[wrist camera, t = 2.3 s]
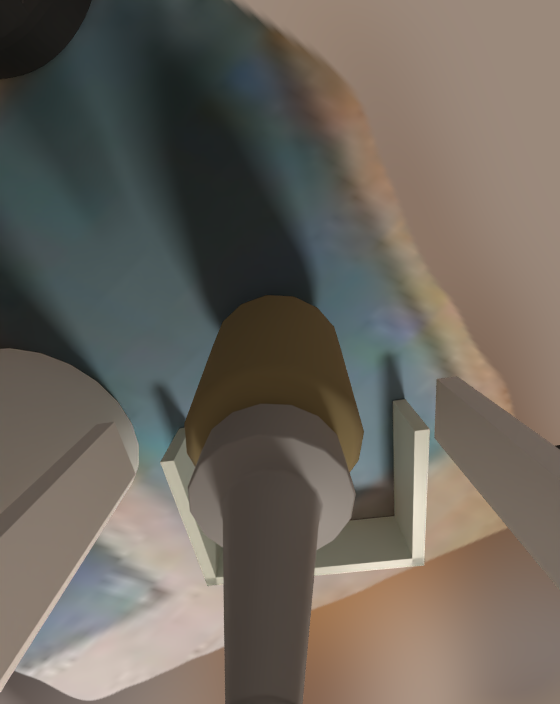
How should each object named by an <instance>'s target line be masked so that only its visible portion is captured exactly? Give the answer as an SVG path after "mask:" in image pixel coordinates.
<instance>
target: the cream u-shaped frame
mask: <svg viewBox="0 0 560 704" xmlns="http://www.w3.org/2000/svg"><path fill="white" fill-rule="evenodd" d="M429 434H430V429H429V428H428V427H427V425H426V424H425V423H424V422H423V420H422V419H421V418H420V417H419V415H418V414H417V413H416V412H415V411H414V409H413V408H412V407H411V406H410V404H409V403H408V402H407V401H406V399H403V400H396V401H393V448H394V516H389V517H379V518H370V519H360V520H351V521H348V523H347V524H346V525H345V527H344V528H343V529H342V530H341V532H340V533H339V534H338V536H337V537H336V538H335V539H334V540H333V541H331V542H330V543H328V544H326V545H325V546H323V547H321V548H320V549H318V550H316V561H315V572H314V576H317V575H327V574H338V573H348V572H359V571H369V570H380V569H390V568H401V567H411V566H422V565H424V555H425V530H426V506H427V482H428V458H429ZM160 463H161V465H162V468H163V470H164V473H165V476H166V478H167V481H168V484H169V486H170V489H171V492H172V494H173V497H174V499H175V502H176V505H177V507H178V510H179V513H180V515H181V518H182V520H183V523H184V526H185V528H186V531H187V534H188V536H189V539H190V542H191V544H192V547H193V549H194V552H195V555H196V557H197V560H198V563H199V565H200V568H201V570H202V573H203V576H204V578H205V581H206V584H207V586H212V585H222V584H224V580H223V547H221V546H220V545H218V544H217V543H216V542H214V541H213V540H211V539H210V538H209V537H207V536H206V535H205V534H204V533H203V531H202V530H201V528H200V527H199V525H198V523H197V522H196V520H195V519H194V517H193V516H192V514H191V512H190V507H189V496H188V485H189V482H190V480H191V477H192V474H193V472H194V469H195V466H194V464H193V462H192V461H191V459H190V457H189V456H188V454H187V449H186V437H185V428H179V430H178V432H177V433H176V435H175V437H174V439H173V440H172V442H171V444H170V446H169V448H168V449H167V451H166V453H165V455H164V457H163V458H162V460H161V462H160Z"/></svg>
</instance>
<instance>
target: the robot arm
mask: <svg viewBox="0 0 560 704" xmlns="http://www.w3.org/2000/svg"><path fill="white" fill-rule="evenodd" d="M90 3H91V0H0V79H2V78H11V77H16V76H20V75H24V74H26V73H29V72H32V71H34V70H36V69H38V68H40V67H42V66H43V65H45V64H46V63H48V62H49V61H51V60H52V59H53V58H54V57H56V56H57V55H58V54H59V53H60V52H61V51H62V50H63V49H64V48H65V47H66V45H67V44H68V43H69V42H70V41H71V39H72V38H73V36H74V35H75V33H76V32H77V30H78V29H79V27H80V25H81V23H82V22H83V20H84V18H85V15H86V13H87V11H88V9H89V6H90ZM434 438H435V439H436V440H437V441H438V443H439V444H440V445H441V446H442V448H443V449H444V450H445V451H446V452H447V454H448V455H449V456H450V457H451V459H452V460H453V461H454V462H455V463H456V465H457V466H458V467H459V468H460V470H461V471H462V472H463V473H464V474H465V476H466V477H467V478H468V479H469V480H470V482H471V483H472V484H473V485H474V487H475V488H476V489H477V490H478V491H479V493H480V494H481V495H482V496H483V498H484V499H485V500H486V501H487V502H488V504H489V505H490V506H491V507H492V508H493V510H494V511H495V512H496V513H497V515H498V516H499V517H500V518H501V519H502V521H503V522H504V523H505V524H506V526H507V527H508V528H509V529H510V530H511V532H512V533H513V534H514V535H515V536H516V538H517V539H518V540H519V541H520V543H521V544H522V545H523V546H524V547H525V549H526V550H527V551H528V552H529V554H530V555H531V556H532V557H533V558H534V560H535V561H536V562H537V563H538V565H539V566H540V567H541V568H542V569H543V570H544V572H545V573H546V574H547V575H548V577H549V578H550V579H551V580H552V582H553V583H554V584H555V585H556V586H557V587H558V589H559V590H560V445H557V446H554V445H552V444H551V443H550V442H548V441H547V440H546V439H544V438H543V437H541V436H540V435H539V434H537V433H536V432H534V431H533V430H532V429H530V428H529V427H527V426H526V425H524V424H523V423H522V422H520V421H519V420H518V419H516V418H515V417H513V416H512V415H511V414H509V413H508V412H506V411H505V410H504V409H502V408H501V407H499V406H498V405H496V404H495V403H494V402H492V401H491V400H489V399H488V398H487V397H485V396H484V395H482V394H481V393H480V392H478V391H477V390H475V389H474V388H473V387H471V386H470V385H468V384H467V383H466V382H464V381H463V380H461V379H460V378H459V377H457V376H456V377H448V378H441V379H437V386H436V411H435V437H434ZM135 474H136V473H135V471H134V469H133V466H132V464H131V461H130V459H129V456H128V454H127V452H126V449H125V447H124V444H123V442H122V439H121V437H120V434H119V432H118V430H117V427H116V425H115V422H109V423H101V424H96V425H95V426H94V427H93V428H92V429H91V430H90V431H89V432H88V433H87V434H86V435H84V436H83V437H82V438H81V439H80V440H79V441H78V442H77V443H76V444H75V445H74V446H73V447H72V448H71V449H69V450H68V451H67V452H66V453H65V454H64V455H63V456H62V457H61V458H60V459H59V460H58V461H57V462H56V463H54V464H53V465H52V466H51V467H50V468H49V469H48V470H47V471H46V472H45V473H44V474H43V475H42V476H41V477H39V478H38V479H37V480H36V481H35V482H34V483H33V484H32V485H31V486H30V487H29V488H28V489H27V490H26V491H24V492H23V493H22V494H21V495H20V496H19V497H18V498H17V499H16V500H15V501H14V502H13V503H12V504H11V505H9V506H8V507H7V508H6V509H5V510H4V511H3V512H2V513H1V514H0V680H1V678H2V677H3V675H4V674H5V672H6V671H7V669H8V668H9V666H10V665H11V663H12V662H13V660H14V659H15V657H16V656H17V654H18V653H19V651H20V650H21V648H22V646H23V645H24V643H25V642H26V640H27V639H28V637H29V636H30V634H31V633H32V631H33V630H34V628H35V627H36V625H37V624H38V622H39V621H40V619H41V618H42V616H43V614H44V613H45V611H46V610H47V608H48V607H49V605H50V604H51V602H52V601H53V599H54V598H55V596H56V595H57V593H58V592H59V590H60V589H61V587H62V586H63V584H64V582H65V581H66V579H67V578H68V576H69V575H70V573H71V572H72V570H73V569H74V567H75V566H76V564H77V563H78V561H79V560H80V558H81V557H82V555H83V554H84V552H85V550H86V549H87V547H88V546H89V544H90V543H91V541H92V540H93V538H94V537H95V535H96V534H97V532H98V531H99V529H100V528H101V526H102V525H103V523H104V522H105V520H106V518H107V517H108V515H109V514H110V512H111V511H112V509H113V508H114V506H115V505H116V503H117V502H118V500H119V499H120V497H121V496H122V494H123V493H124V491H125V490H126V488H127V486H128V485H129V483H130V482H131V480H132V479H133V477H134V476H135Z"/></svg>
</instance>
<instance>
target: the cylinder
mask: <svg viewBox="0 0 560 704" xmlns="http://www.w3.org/2000/svg"><path fill="white" fill-rule="evenodd" d="M109 422H115V425H116V427H117V430H118V432H119V434H120V437H121V439H122V442H123V444H124V447H125V449H126V452H127V454H128V456H129V459H130V461H131V464H132V466H133V469H134V471H135V473H136V471H137V469H138V466H139V444H138V441H137V438H136V435H135V432H134V429H133V426H132V423H131V422H130V420H129V418H128V417H127V415H126V414H125V412H124V411H123V409H122V408H121V406H120V405H119V403H118V402H117V401H116V400H115V399H114V398H113V397H112V396H111V395H110V394H109V393H108V392H107V391H106V390H105V389H104V388H103V387H102V386H101V385H100V384H99V383H98V382H97V381H95V380H94V379H92V378H91V377H89V376H88V375H86V374H84V373H83V372H81V371H80V370H78V369H77V368H75V367H73V366H72V365H70V364H68V363H65V362H63V361H60V360H57V359H55V358H52V357H50V356H47V355H44V354H42V353H37V352H31V351H25V350H19V349H12V348H6V349H0V514H1V513H2V512H3V511H4V510H5V509H6V508H7V507H8V506H9V505H11V504H12V503H13V502H14V501H15V500H16V499H17V498H18V497H19V496H20V495H21V494H22V493H23V492H24V491H26V490H27V489H28V488H29V487H30V486H31V485H32V484H33V483H34V482H35V481H36V480H37V479H38V478H39V477H41V476H42V475H43V474H44V473H45V472H46V471H47V470H48V469H49V468H50V467H51V466H52V465H53V464H54V463H56V462H57V461H58V460H59V459H60V458H61V457H62V456H63V455H64V454H65V453H66V452H67V451H68V450H69V449H71V448H72V447H73V446H74V445H75V444H76V443H77V442H78V441H79V440H80V439H81V438H82V437H83V436H84V435H86V434H87V433H88V432H89V431H90V430H91V429H92V428H93V427H94V426H95V425H96V424H101V423H109ZM134 477H135V476H134ZM134 477H133V479H132V480H131V482H130V483H129V485H128V486H127V488H126V490H125V491H124V493H123V494H122V496H121V497H120V499H119V500H118V502H117V503H116V505H115V506H114V508H113V509H112V511H111V512H110V514H109V515H108V517H107V518H106V520H105V522H104V523H103V525H102V526H101V528H100V529H99V531H98V532H97V534H96V535H95V537H94V538H93V540H92V541H91V543H90V544H89V546H88V547H87V549H86V550H85V552H84V554H83V555H82V557H81V558H80V560H79V561H78V563H77V564H76V566H75V567H74V569H73V570H72V572H71V573H70V575H69V576H68V578H67V579H66V581H65V582H64V584H63V586H62V587H61V589H60V590H59V592H58V593H57V595H56V596H55V598H54V599H53V601H52V602H51V604H50V605H49V607H48V608H47V610H46V611H45V613H44V614H43V616H42V618H41V619H40V621H39V622H38V624H37V625H36V627H35V628H34V630H33V631H32V633H31V634H30V636H29V637H28V639H27V640H26V642H25V643H24V645H23V646H22V648H21V650H20V651H19V653H18V654H17V656H16V657H15V659H14V660H13V662H12V663H11V665H10V666H9V668H8V669H7V671H6V672H5V674H4V675H3V677H2V678H1V680H0V692H1V690H2V689H3V687H4V686H5V684H6V682H7V681H8V679H9V678H10V676H11V674H12V673H13V671H14V670H15V668H16V667H17V665H18V663H19V662H20V660H21V659H22V657H23V655H24V654H25V652H26V651H27V649H28V648H29V646H30V644H31V643H32V641H33V640H34V638H35V636H36V635H37V633H38V632H39V630H40V628H41V627H42V625H43V624H44V622H45V621H46V619H47V617H48V616H49V614H50V613H51V611H52V609H53V608H54V606H55V605H56V603H57V602H58V600H59V598H60V597H61V595H62V594H63V592H64V590H65V589H66V587H67V586H68V584H69V582H70V581H71V579H72V578H73V576H74V575H75V573H76V571H77V570H78V568H79V567H80V565H81V563H82V562H83V560H84V559H85V557H86V556H87V554H88V552H89V551H90V549H91V548H92V546H93V544H94V543H95V541H96V540H97V538H98V536H99V535H100V533H101V532H102V530H103V529H104V527H105V525H106V524H107V522H108V521H109V519H110V517H111V516H112V514H113V513H114V511H115V509H116V508H117V506H118V505H119V503H120V502H121V500H122V498H123V497H124V495H125V494H126V492H127V490H128V489H129V487H130V486H131V484H132V482H133V480H134Z"/></svg>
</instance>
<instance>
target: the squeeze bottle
mask: <svg viewBox="0 0 560 704" xmlns="http://www.w3.org/2000/svg"><path fill="white" fill-rule="evenodd" d="M184 425H185V437H186V449H187V454H188V456H189V457H190V459H191V461H192V462H193V464H194V466H195V469H194V472H193V474H192V477H191V480H190V482H189V485H188V496H189V507H190V512H191V514H192V516H193V517H194V519H195V520H196V522H197V523H198V525H199V527H200V528H201V530H202V531H203V533H204V534H205V535H206V536H207V537H209V538H210V539H211V540H213V541H214V542H216V543H217V544H218V545H220V546H221V547H223V580H224V646H225V704H302V702H303V691H304V681H305V669H306V658H307V648H308V637H309V626H310V615H311V604H312V593H313V583H314V572H315V561H316V550H318V549H320V548H321V547H323V546H325V545H326V544H328V543H330V542H331V541H333V540H334V539H335V538H336V537H337V536H338V534H339V533H340V532H341V530H342V529H343V528H344V527H345V525H346V524H347V523H348V521H349V520H350V519H351V517H352V511H353V506H354V501H355V496H356V492H355V489H354V486H353V482H352V479H351V476H350V471H351V470H352V469H353V467H354V466H355V464H356V463H357V462H358V460H359V455H360V450H361V445H362V439H363V434H364V430H363V427H362V423H361V419H360V416H359V412H358V409H357V405H356V402H355V398H354V395H353V391H352V387H351V384H350V380H349V377H348V373H347V370H346V366H345V362H344V359H343V355H342V352H341V348H340V345H339V342H338V338H337V335H336V332H335V328H334V326H333V325H332V324H331V323H330V322H329V321H328V319H327V318H326V317H325V316H324V315H323V314H322V313H321V311H320V310H319V309H318V308H317V307H314V306H312V305H310V304H308V303H306V302H304V301H302V300H300V299H298V298H296V297H294V296H274V295H265V296H263V297H260V298H257V299H254V300H252V301H249V302H246V303H243V304H241V305H240V306H239V307H238V308H237V309H236V310H235V311H234V312H233V313H232V314H230V315H229V316H228V317H227V318H226V319H225V320H224V321H223V323H222V325H221V327H220V330H219V332H218V335H217V337H216V340H215V342H214V344H213V347H212V350H211V353H210V355H209V358H208V361H207V363H206V366H205V369H204V372H203V374H202V377H201V380H200V383H199V385H198V388H197V391H196V393H195V396H194V399H193V402H192V404H191V407H190V410H189V412H188V415H187V418H186V421H185V423H184Z"/></svg>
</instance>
